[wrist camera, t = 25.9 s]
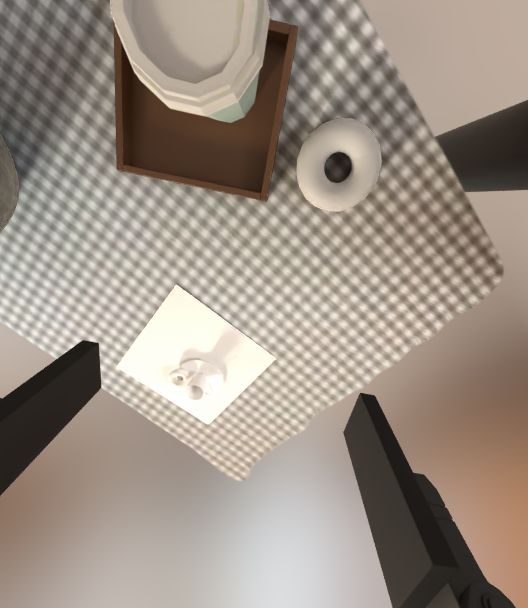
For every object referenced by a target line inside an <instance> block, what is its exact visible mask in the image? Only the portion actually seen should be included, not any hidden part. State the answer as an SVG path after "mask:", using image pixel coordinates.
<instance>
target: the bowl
mask: <svg viewBox="0 0 528 608" xmlns="http://www.w3.org/2000/svg"><path fill="white" fill-rule="evenodd" d="M18 196H19V179H18V174H17V171H16V167H15V164H14V161H13V158H12V156H11V153H10V151H9V149H8V146H7V144H6V142H5V140H4V138H3V136H2V134H1V132H0V232H1V231H2V230H3V229H4V227H5V226H6V225H7V223H8V222H9V220H10V219H11V217H12V215H13V213H14V210H15V208H16V205H17V201H18Z"/></svg>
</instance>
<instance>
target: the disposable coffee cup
mask: <svg viewBox="0 0 528 608" xmlns="http://www.w3.org/2000/svg"><path fill="white" fill-rule="evenodd" d="M110 13H111V16H112V18H113V20H114V23H115V27H116V30H117V32H118V34H119V37H120V39H121V42H122V44H123V46H124V49H125V51H126V54H127V56H128V58H129V61H130V63H131V66H132V68H133V70H134V73H135V74H136V75H137V76H138V78H139V80H140V81H141V82H142V83H144V84H145V85H146V86H147V87H148V88H149V89H150V90H151V91H152V92H153V93H154V94H155V95H156V96H157V97H158V98H159V99H160V100H161V101H162V102H164V103H165V104H166V105H167V106H168V107H169V108H170V109H174V110H179V111H183V112H188V113H192V114H197V115H201V116H206V117H209V118H212V119H215V120H219V121H224V122H228V123H232V122H234V121H236V120H239V119H241V118H243V117H245V116H246V114H247V113H248V111H249V110H250V109H251V107H252V106H253V104H254V103H255V96H256V90H257V83H258V76H259V70H260V69H261V67H262V65H263V59H264V52H265V46H266V39H267V33H268V26H269V20H270V11H269V7H268V2H267V0H110Z"/></svg>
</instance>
